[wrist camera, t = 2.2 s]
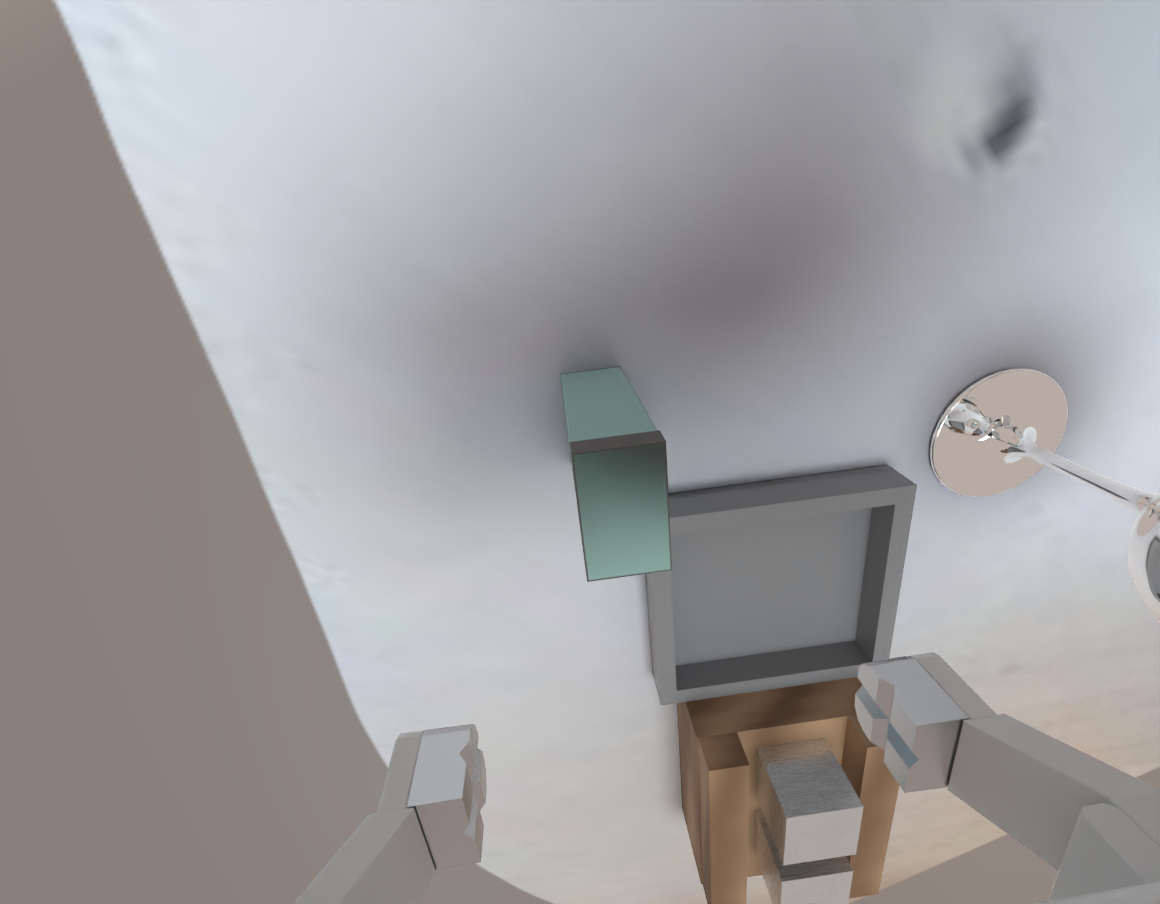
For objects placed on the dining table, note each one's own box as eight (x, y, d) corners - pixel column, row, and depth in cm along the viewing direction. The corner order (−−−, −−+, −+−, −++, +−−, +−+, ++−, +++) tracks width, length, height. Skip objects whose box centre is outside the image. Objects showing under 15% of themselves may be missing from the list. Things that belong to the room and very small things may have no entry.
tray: (887, 464, 30) (916, 484, 28) (863, 643, 35) (886, 672, 33) (639, 497, 30) (648, 521, 27) (652, 673, 35) (661, 705, 33)
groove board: (841, 646, 35) (909, 741, 29) (825, 787, 41) (879, 893, 34) (675, 670, 35) (706, 771, 28) (682, 808, 40) (710, 919, 34)
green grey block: (559, 373, 27) (571, 453, 17) (621, 365, 27) (665, 441, 17) (570, 466, 29) (587, 581, 19) (628, 458, 29) (671, 570, 19)
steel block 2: (818, 799, 33) (853, 871, 30) (814, 839, 35) (846, 912, 31) (755, 808, 33) (782, 881, 29) (753, 848, 35) (779, 922, 31)
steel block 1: (824, 737, 31) (863, 806, 27) (820, 783, 33) (855, 854, 29) (756, 747, 31) (786, 818, 27) (755, 792, 33) (783, 865, 29)
